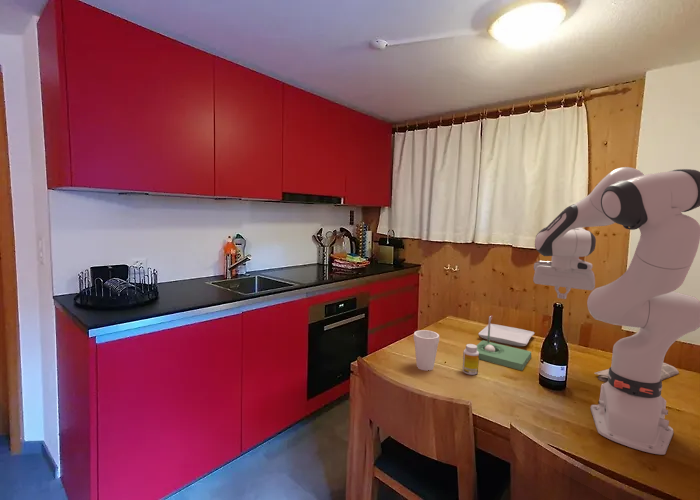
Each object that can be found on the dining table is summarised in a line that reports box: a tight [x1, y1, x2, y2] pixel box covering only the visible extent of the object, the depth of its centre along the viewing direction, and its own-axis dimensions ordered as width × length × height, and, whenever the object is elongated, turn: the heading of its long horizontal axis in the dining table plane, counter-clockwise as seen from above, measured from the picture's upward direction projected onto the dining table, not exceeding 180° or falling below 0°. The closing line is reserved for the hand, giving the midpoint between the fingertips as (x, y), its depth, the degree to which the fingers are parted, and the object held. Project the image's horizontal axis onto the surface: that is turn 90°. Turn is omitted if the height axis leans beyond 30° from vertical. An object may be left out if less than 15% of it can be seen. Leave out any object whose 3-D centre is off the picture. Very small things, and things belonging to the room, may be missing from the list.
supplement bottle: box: [462, 343, 480, 376], centre depth 132 cm, size 6×6×10 cm
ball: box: [485, 345, 495, 352], centre depth 149 cm, size 4×4×4 cm
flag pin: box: [486, 314, 493, 343], centre depth 156 cm, size 4×1×12 cm, turn 142°
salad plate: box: [478, 323, 535, 347], centre depth 168 cm, size 21×21×3 cm
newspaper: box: [594, 362, 680, 383], centre depth 132 cm, size 35×12×4 cm, turn 116°
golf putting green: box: [475, 339, 532, 371], centre depth 146 cm, size 16×20×2 cm
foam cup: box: [413, 329, 440, 372], centre depth 135 cm, size 10×9×13 cm
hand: (561, 298), depth 135 cm, fingers closed
